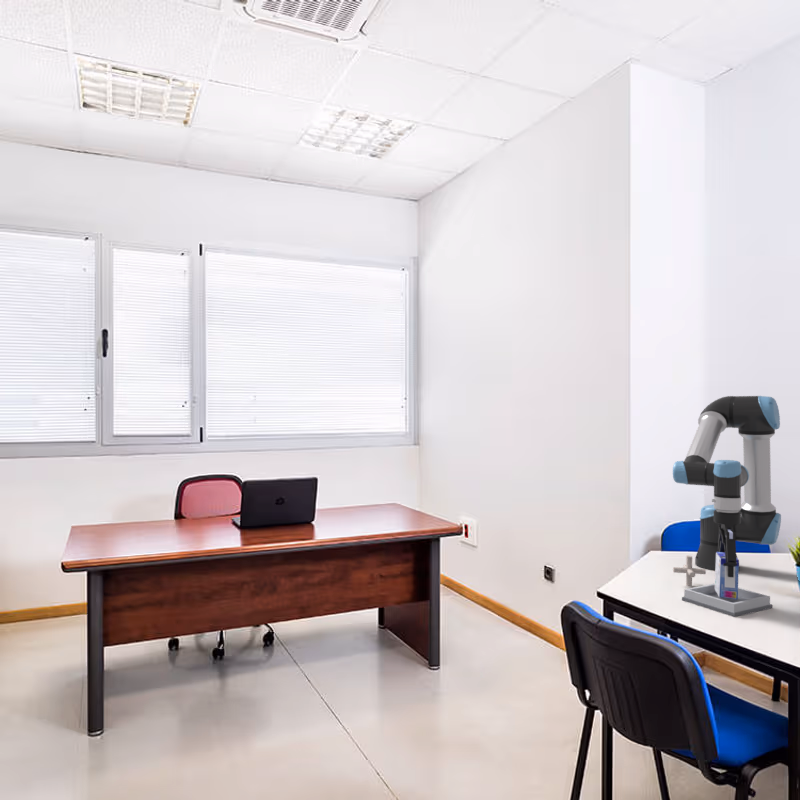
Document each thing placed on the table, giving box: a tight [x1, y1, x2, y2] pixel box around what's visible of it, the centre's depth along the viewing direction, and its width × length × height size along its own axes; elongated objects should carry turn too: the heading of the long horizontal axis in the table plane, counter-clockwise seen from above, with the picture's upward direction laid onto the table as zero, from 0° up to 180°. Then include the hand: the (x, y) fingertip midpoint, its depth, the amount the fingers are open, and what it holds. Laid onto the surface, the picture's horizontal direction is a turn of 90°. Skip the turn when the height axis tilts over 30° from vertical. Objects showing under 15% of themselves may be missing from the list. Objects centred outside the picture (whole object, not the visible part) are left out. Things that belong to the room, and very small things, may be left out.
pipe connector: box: [672, 555, 706, 587], centre depth 225 cm, size 10×10×10 cm
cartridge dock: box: [681, 582, 774, 618], centre depth 205 cm, size 18×18×4 cm
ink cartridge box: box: [714, 552, 740, 600], centre depth 205 cm, size 10×6×14 cm, turn 163°
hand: (726, 582), depth 205 cm, fingers closed on ink cartridge box, 10 cm apart
